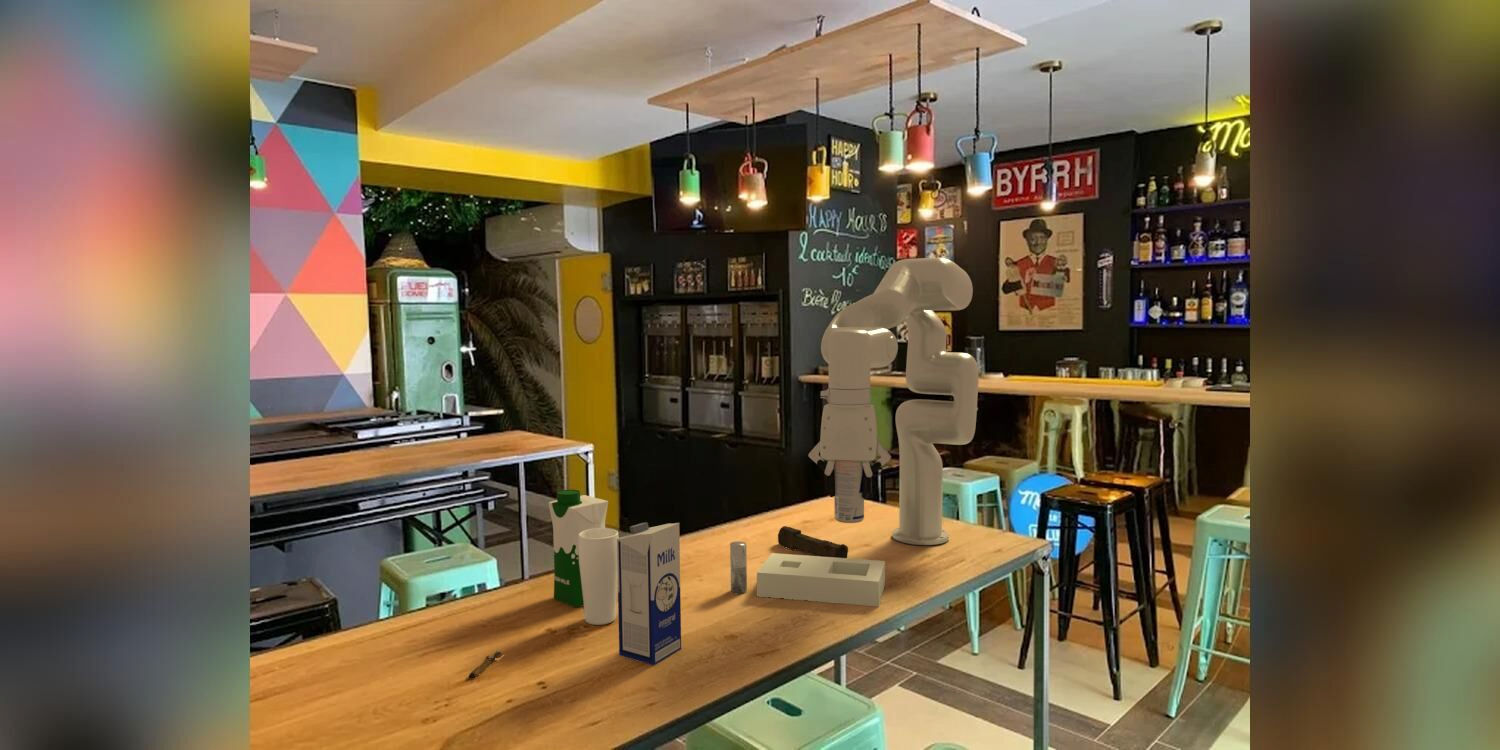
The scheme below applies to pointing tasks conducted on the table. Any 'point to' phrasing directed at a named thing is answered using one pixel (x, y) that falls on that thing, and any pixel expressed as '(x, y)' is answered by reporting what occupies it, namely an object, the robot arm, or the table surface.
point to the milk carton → (649, 592)
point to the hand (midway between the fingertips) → (849, 495)
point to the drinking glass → (598, 574)
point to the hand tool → (810, 544)
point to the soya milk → (572, 540)
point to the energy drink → (849, 491)
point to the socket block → (822, 579)
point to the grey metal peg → (738, 567)
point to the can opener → (483, 666)
